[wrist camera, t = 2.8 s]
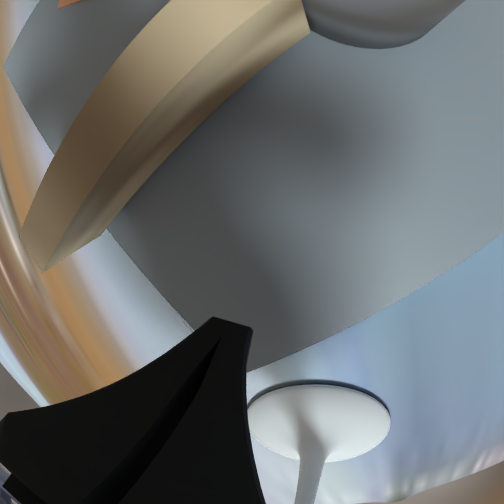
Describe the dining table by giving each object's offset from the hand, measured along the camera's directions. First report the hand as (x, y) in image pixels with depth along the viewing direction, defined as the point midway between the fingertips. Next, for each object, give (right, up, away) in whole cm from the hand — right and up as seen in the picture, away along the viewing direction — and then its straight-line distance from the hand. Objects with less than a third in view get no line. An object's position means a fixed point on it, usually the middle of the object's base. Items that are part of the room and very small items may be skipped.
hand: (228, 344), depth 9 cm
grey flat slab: (+2, +11, -2) cm, 11 cm away
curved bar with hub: (+1, +9, -3) cm, 10 cm away
